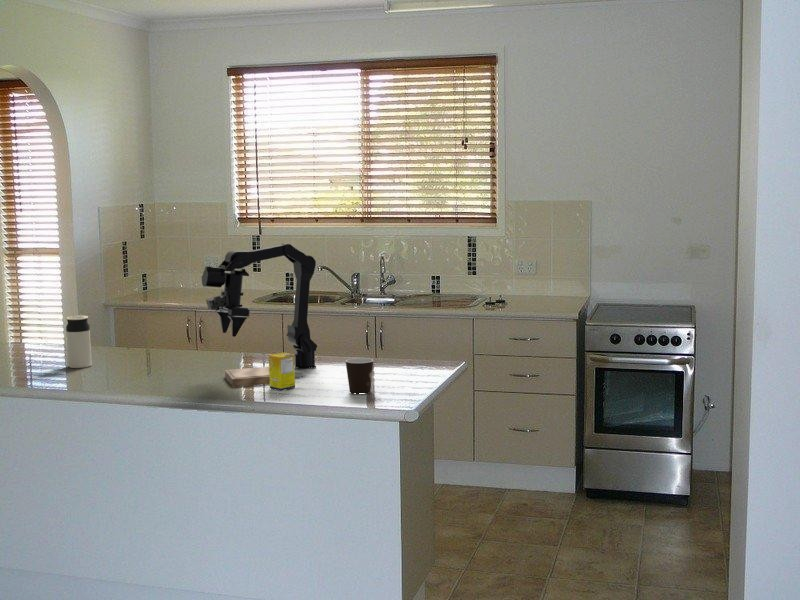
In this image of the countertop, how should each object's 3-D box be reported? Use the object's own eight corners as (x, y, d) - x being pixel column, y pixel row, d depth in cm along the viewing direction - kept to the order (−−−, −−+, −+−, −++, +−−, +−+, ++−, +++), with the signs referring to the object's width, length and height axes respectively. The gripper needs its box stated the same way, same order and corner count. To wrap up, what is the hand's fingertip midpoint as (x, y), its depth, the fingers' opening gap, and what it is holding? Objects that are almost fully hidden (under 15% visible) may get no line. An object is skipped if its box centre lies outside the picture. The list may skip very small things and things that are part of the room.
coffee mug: (363, 396, 290) (363, 364, 289) (340, 393, 295) (340, 361, 293) (384, 389, 300) (384, 357, 299) (361, 386, 304) (361, 355, 303)
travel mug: (77, 369, 339) (74, 319, 336) (64, 367, 343) (60, 317, 341) (96, 365, 345) (93, 316, 343) (83, 363, 350) (80, 314, 347)
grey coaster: (301, 372, 327) (300, 370, 327) (307, 377, 319) (307, 375, 318) (275, 374, 324) (275, 373, 324) (280, 379, 316) (280, 378, 316)
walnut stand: (272, 373, 326) (271, 365, 326) (281, 382, 311) (281, 374, 311) (225, 377, 321) (224, 369, 321) (232, 387, 306) (232, 378, 306)
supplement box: (284, 385, 308) (283, 352, 306) (295, 388, 303) (294, 354, 302) (269, 388, 303) (267, 354, 302) (280, 391, 299) (279, 356, 298)
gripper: (200, 284, 324) (196, 330, 325) (219, 289, 308) (215, 337, 308) (231, 286, 329) (228, 331, 330) (251, 291, 313) (247, 338, 314)
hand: (229, 334), depth 321 cm, fingers open, 9 cm apart
